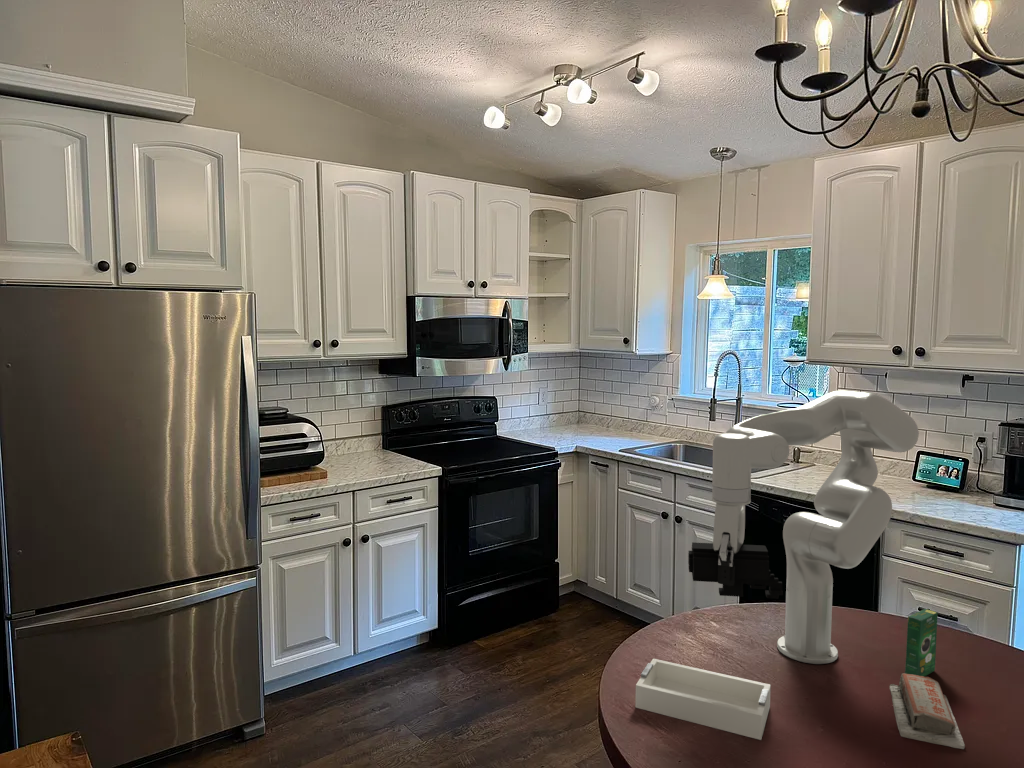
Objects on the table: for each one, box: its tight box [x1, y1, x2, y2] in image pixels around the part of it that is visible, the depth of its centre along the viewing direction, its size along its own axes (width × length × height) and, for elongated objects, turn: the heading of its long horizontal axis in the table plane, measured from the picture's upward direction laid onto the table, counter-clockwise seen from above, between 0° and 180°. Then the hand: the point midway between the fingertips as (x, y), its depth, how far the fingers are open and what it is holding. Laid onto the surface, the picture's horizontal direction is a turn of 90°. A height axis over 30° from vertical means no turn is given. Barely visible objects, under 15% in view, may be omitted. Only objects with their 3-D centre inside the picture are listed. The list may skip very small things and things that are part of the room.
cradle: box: [634, 658, 772, 741], centre depth 132 cm, size 12×23×5 cm, turn 63°
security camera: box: [687, 541, 784, 600], centre depth 142 cm, size 7×18×10 cm, turn 78°
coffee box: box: [904, 608, 939, 677], centre depth 144 cm, size 8×3×13 cm, turn 125°
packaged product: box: [889, 672, 966, 750], centre depth 129 cm, size 18×5×10 cm
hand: (729, 576), depth 142 cm, fingers closed on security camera, 8 cm apart
